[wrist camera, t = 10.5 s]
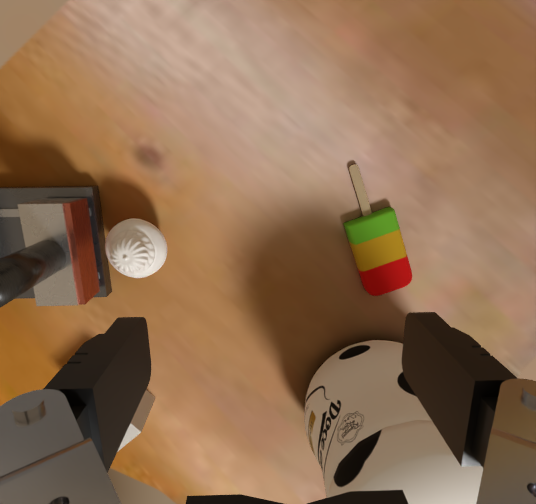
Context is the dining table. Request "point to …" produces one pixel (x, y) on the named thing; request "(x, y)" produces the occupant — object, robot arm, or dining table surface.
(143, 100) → the dining table surface
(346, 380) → the milk container
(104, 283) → the jaw track
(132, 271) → the white rounded ridged piece
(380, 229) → the popsicle
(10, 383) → the dining table surface
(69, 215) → the sliding jaw
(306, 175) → the dining table surface
